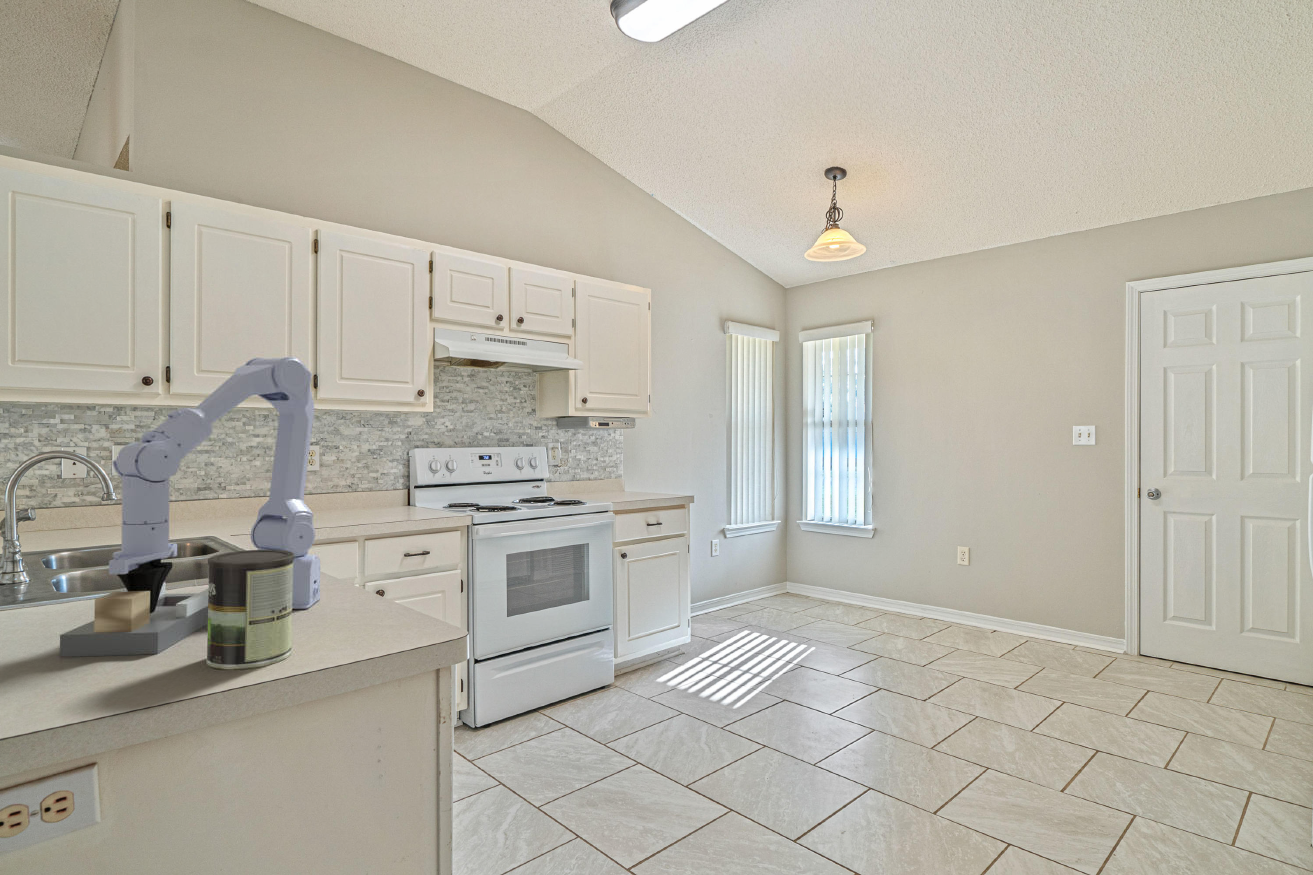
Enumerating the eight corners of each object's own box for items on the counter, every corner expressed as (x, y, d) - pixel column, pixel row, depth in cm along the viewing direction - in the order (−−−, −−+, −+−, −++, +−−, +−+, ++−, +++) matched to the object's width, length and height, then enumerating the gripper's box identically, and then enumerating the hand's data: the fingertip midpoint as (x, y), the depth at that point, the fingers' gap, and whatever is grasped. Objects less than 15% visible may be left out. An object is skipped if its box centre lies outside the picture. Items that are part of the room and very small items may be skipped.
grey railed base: (232, 609, 120) (232, 581, 120) (157, 653, 96) (158, 617, 96) (155, 611, 118) (155, 582, 118) (59, 657, 94) (60, 620, 94)
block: (149, 622, 101) (150, 590, 101) (131, 631, 96) (131, 598, 96) (114, 623, 100) (114, 591, 100) (94, 632, 95) (94, 599, 95)
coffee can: (198, 674, 89) (200, 564, 88) (214, 650, 98) (215, 551, 98) (289, 665, 93) (291, 560, 93) (295, 643, 102) (297, 547, 102)
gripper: (142, 516, 110) (141, 601, 110) (84, 529, 95) (83, 627, 95) (191, 516, 111) (190, 600, 111) (141, 529, 97) (140, 625, 97)
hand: (144, 613), depth 103 cm, fingers closed
